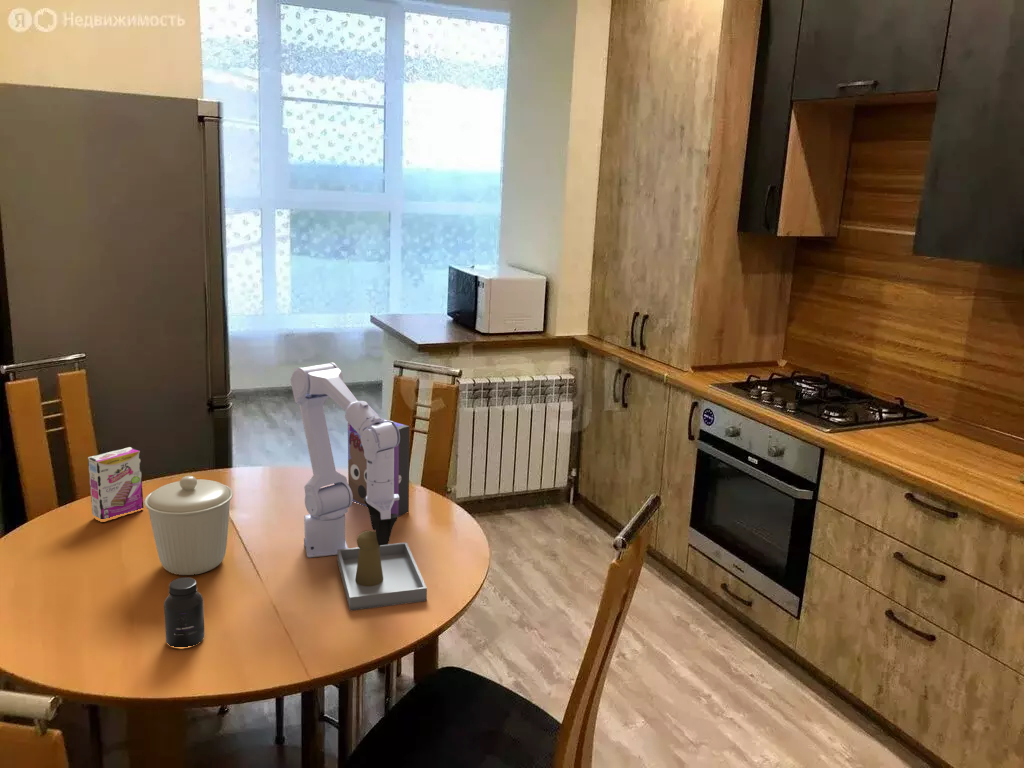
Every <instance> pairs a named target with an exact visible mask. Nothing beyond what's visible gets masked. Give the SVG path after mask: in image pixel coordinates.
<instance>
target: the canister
mask: <svg viewBox="0 0 1024 768" xmlns="http://www.w3.org/2000/svg"><path fill="white" fill-rule="evenodd" d="M233 496H234V491H233V490H232V488H231V487H230V486H228V485H227V484H223V483H222V482H219V481H215V480H210V479H203V478H202V479H201V478H200V479H197V478H196V477H195V476H193V475H186V476H183V477H182V478H181V479H180V480H178V481H173V482H170V483H167V484H165V485H164V484H163V485H162V486H160V487H158V488H157V489H155V490H153V491H151V492H150V493H148V494H147V495H146V497H144V499H143V506H145V508H146V509H147V510H148V515H149V519H150V524H151V529H152V533H153V539H154V543H155V546H156V551H157V555H158V560H159V562H160V563H161V565H162V567H163V568H164V569H165V571H167V572H169V573H170V572H171V573H170V574H173V573H174V575H177V574H179V576H194V574H195V575H199V574H203V573H207V572H209V571H211V570H214V569H215V568H217V567H218V566H220V565H221V563H222V561H224V559H225V556H226V551H227V545H228V544H227V542H228V534H229V522H230V521H229V520H230V519H229V518H230V506H231V505H230V504H231V500H232V498H233Z"/></svg>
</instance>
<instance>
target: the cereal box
mask: <svg viewBox="0 0 1024 768" xmlns="http://www.w3.org/2000/svg"><path fill="white" fill-rule="evenodd" d="M386 420H387V421H389V419H386ZM393 422H394V423H395V425H396V426H397V428H398V430H399V433H400V442H399V444H398V446H397V447H394V494H398V495H399V500H396V501H394V503H393V505H392V508H391V514H397V516H398V518H399V517H402V516H403V514H404V515H406V514H407V512H408V513H409V511H410V510H409V509H410V507H409V505H410V503H409V502H410V425H407V424H403V423H399V422H395V421H393ZM347 456H348V457H347V465H348V466H347V468H348V470H347V473H348V477H347V482H348V485H349V487H350V489H351V491H352V495H353V500H352V501H353V502H352V503H354V502H356V503H355V504H357V503H359V504H358V505H360V504H361V506H362V505H363V506H362V507H365V506H366V508H368V507H367V505H366V503H365V501H364V498H365V497H366V496H367V459H365V456H364V449H363V446H362V443H361V438H360V435H359V434H358V433H357V431H356V430H355V429H354V428H353V427H352V426H351V425H350V424H349V423H348V422H347ZM405 513H406V514H405Z"/></svg>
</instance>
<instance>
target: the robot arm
mask: <svg viewBox="0 0 1024 768" xmlns="http://www.w3.org/2000/svg"><path fill="white" fill-rule="evenodd" d="M342 372H343V371H342V370H341V369H340V368H339V366H338V365H337V364H336V363H335V362H332V361H331V362H327V363H322V364H316V365H308V366H305V367H296V368H294V370H293V372H292V375H291V376H290V377H291V378H290V384H291V389H292V394H293V398H294V399H293V400H294V403H295V404H296V405H299V410H300V415H301V419H302V425H303V430H304V435H305V440H306V447H307V450H308V455H309V460H310V464H311V465H310V466H311V469H312V474H313V475H312V476H311V478H310V479H309V480H308V481H307V482H306V484H305V485H304V505H305V508H306V511H307V512H308V514H306V515H304V519H303V524H304V538H303V546H304V547H305V551H306V552H305V553H306V557H307V558H309V559H310V558H318V557H327V556H337V550H338V549H347V548H349V547H348V543H347V541H346V540H347V539H346V514H347V513H348V511H349V510H348V509H349V508H350V507H351V506H352V504H353V502H352V500H353V495H352V491H351V489H350V487H349V485H348V477H346V476H345V475H344V474H341V473H340V472H338V471H337V470H336V465H335V460H334V456H333V450H332V444H331V440H330V434H329V431H328V425H327V421H326V416H325V410H324V404H325V402H326V401H327V399H331V400H332V401H333V402H335V403H336V404H337V405H338V406H339V407H340V408H341V409H342V410H343V411H345V414H344V418H345V421H346V422H347V424H348V423H349V424H350V425H351V426H352V427H353V428H354V429H355V430H356V431H357V433H358V434H359V435H360V438H361V443H362V446H363V449H364V456H365V459H367V496H366V497H365V498H364V501H365V503H366V505H367V507H366V508H367V509H368V514H369V519H370V523H371V524H370V525H371V527H372V531H375V532H376V537H377V542H378V545H388V544H390V540H391V534H392V530H393V528H394V525H395V524H396V522H397V521H398V518H399V517H398V516H397V514H391V508H392V505H393V503H394V501H396V500H399V495H398V494H394V447H397V446H398V444H399V442H400V433H399V430H398V428H397V426H396V425H395V423H394V422H395V421H393V420H389V419H386V418H382V417H381V416H380V415H379V414H378V413H377V412H376V410H374V409H373V408H372V407H371V406H370V405H369V403H368V402H367V401H366V400H358V399H357V398H356V397H355V395H354V393H352V392H351V390H350V389H349V387H348V386H347V385H346V383H345V382H344V380H343V373H342ZM387 420H389V421H387Z"/></svg>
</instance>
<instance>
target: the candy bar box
mask: <svg viewBox="0 0 1024 768" xmlns="http://www.w3.org/2000/svg"><path fill="white" fill-rule="evenodd" d="M141 461H142V460H141V451H140V450H138V449H136V448H134V447H132V446H128V447H125V448H121V449H120V448H119V449H116V450H112V451H109V452H108V451H107V452H104V453H99V454H96V455H92V456H88V457H87V463H88V465H87V466H88V477H89V487H90V488H89V490H90V499H91V500H90V502H91V513H92V514H93V515H94V516H96V517H98V518H100V519H106V518H110V517H113V516H116V515H120V514H124V513H128V512H131V511H135V510H138V509H141V508H144V495H143V479H142V463H141ZM93 515H92V516H93Z"/></svg>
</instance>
